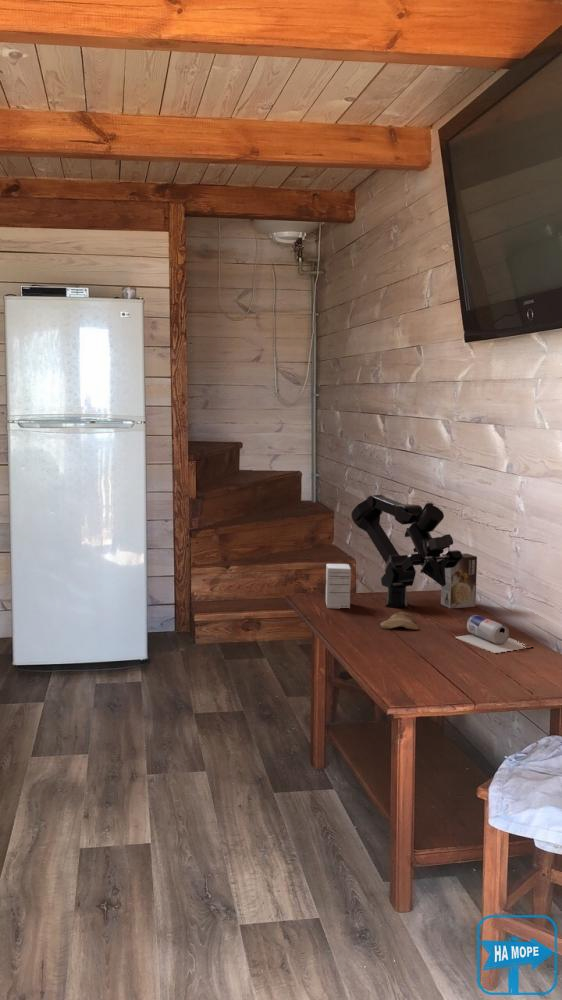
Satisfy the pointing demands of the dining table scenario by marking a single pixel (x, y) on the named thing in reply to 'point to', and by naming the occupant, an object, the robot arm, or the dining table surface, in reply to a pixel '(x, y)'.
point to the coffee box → (460, 583)
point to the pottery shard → (399, 621)
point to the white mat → (491, 644)
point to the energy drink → (488, 629)
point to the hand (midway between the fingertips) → (443, 585)
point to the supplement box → (338, 585)
